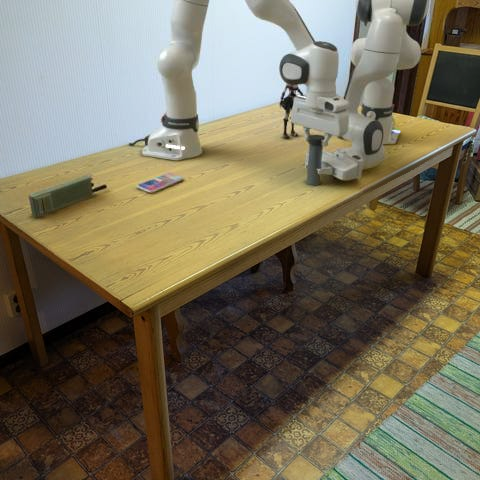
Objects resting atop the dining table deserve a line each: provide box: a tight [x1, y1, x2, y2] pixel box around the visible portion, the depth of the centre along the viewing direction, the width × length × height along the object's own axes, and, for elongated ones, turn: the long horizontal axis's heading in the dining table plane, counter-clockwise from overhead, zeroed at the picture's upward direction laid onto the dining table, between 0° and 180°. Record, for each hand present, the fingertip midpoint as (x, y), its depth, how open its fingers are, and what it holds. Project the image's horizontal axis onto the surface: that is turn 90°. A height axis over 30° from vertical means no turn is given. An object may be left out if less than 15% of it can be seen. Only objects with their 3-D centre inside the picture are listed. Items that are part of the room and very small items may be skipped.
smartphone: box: [136, 172, 184, 194], centre depth 164 cm, size 7×1×15 cm
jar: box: [305, 143, 324, 186], centre depth 163 cm, size 4×4×15 cm
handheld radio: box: [28, 173, 108, 219], centre depth 150 cm, size 7×3×25 cm
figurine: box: [279, 83, 305, 140], centre depth 202 cm, size 15×6×30 cm, turn 132°
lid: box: [307, 134, 326, 146], centre depth 160 cm, size 5×5×2 cm
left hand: (316, 143), depth 160 cm, fingers closed on lid, 5 cm apart
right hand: (312, 168), depth 164 cm, fingers closed on jar, 4 cm apart
